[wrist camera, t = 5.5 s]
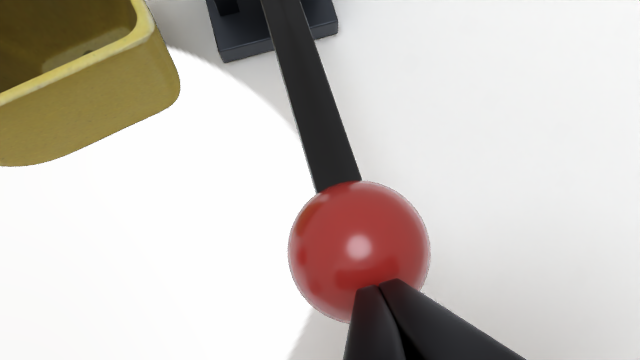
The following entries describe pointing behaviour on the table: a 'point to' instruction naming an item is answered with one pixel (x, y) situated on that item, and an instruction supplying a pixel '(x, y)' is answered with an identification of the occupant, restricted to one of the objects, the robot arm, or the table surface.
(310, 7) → the bracket
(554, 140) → the table surface
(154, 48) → the flower pot
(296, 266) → the lever
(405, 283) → the robot arm
